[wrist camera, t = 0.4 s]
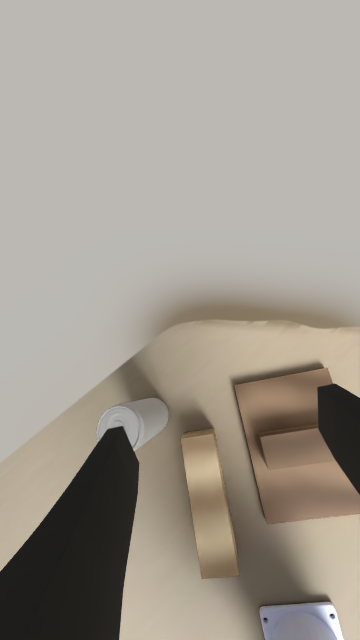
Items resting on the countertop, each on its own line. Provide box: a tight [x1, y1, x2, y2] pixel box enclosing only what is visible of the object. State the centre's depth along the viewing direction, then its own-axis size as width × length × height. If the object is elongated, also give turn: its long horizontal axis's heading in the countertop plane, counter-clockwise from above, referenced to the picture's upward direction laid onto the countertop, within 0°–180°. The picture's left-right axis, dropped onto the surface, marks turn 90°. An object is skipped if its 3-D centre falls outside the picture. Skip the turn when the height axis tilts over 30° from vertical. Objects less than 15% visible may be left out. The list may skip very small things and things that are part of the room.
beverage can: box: [96, 398, 169, 451], centre depth 30 cm, size 5×5×12 cm
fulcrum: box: [234, 368, 360, 524], centre depth 30 cm, size 16×12×4 cm
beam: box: [181, 429, 239, 579], centre depth 30 cm, size 14×4×4 cm, turn 10°
